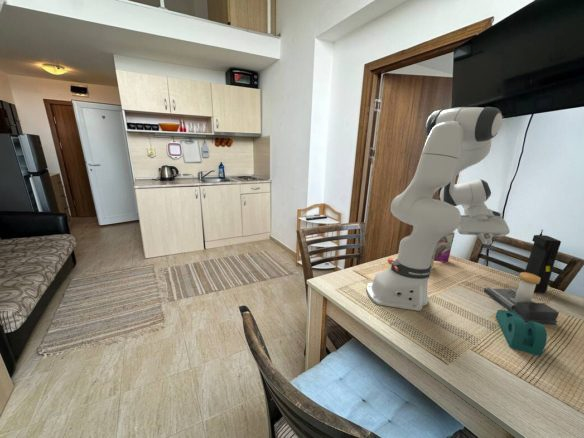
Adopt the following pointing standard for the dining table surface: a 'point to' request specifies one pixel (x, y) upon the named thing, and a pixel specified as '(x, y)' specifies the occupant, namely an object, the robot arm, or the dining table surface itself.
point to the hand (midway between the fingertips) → (487, 243)
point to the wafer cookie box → (444, 248)
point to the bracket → (522, 333)
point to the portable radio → (542, 259)
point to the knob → (525, 288)
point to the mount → (524, 307)
